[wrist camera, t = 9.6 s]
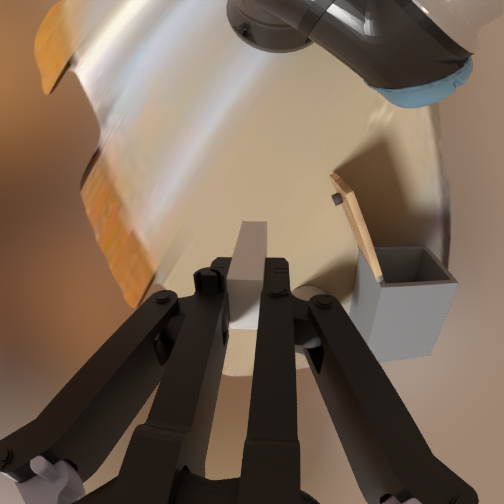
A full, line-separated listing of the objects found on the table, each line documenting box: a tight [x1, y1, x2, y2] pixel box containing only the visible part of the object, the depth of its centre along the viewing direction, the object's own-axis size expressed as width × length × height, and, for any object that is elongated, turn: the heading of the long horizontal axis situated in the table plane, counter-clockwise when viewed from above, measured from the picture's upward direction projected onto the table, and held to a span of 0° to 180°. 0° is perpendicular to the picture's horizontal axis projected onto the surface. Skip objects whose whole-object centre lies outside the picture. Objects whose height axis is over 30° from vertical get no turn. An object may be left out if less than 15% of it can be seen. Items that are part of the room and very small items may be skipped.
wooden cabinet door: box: [330, 173, 384, 282], centre depth 41 cm, size 2×14×11 cm, turn 28°
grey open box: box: [349, 246, 458, 362], centre depth 46 cm, size 16×14×13 cm
